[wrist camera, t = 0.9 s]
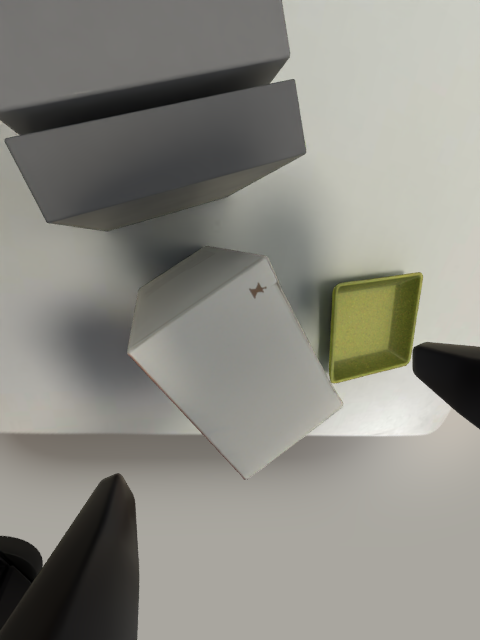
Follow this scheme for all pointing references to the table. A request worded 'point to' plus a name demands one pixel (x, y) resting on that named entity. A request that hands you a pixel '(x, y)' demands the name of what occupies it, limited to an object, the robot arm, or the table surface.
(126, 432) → the table surface
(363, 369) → the green square tray
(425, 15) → the table surface
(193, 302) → the small box
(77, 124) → the grey grooved block
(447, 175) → the table surface
